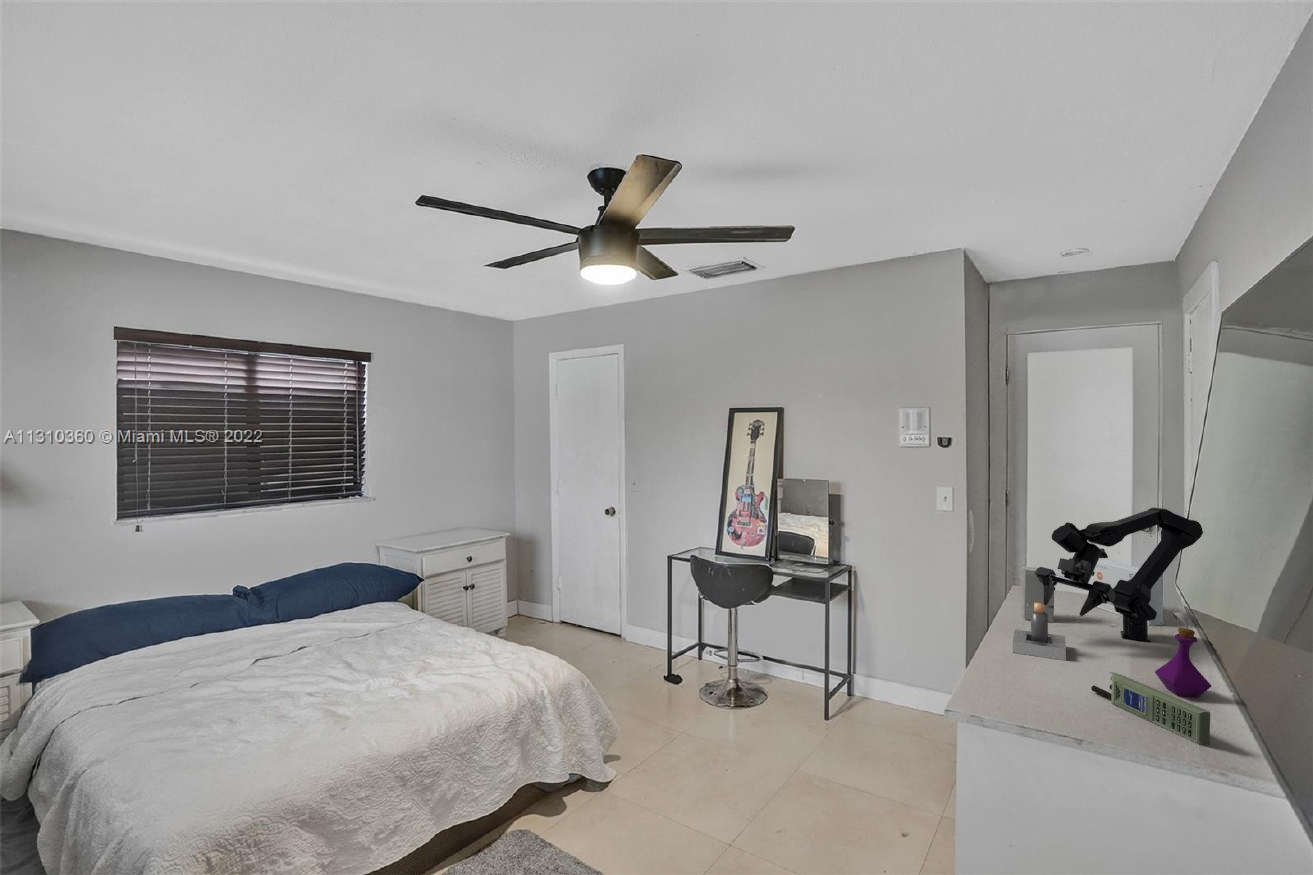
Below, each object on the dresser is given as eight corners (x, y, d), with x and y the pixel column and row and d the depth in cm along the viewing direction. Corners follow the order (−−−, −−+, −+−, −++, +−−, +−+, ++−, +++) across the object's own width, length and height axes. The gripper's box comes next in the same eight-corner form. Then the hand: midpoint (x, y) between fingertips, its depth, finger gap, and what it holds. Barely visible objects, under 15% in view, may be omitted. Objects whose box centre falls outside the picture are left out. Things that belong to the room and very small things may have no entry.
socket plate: (1015, 640, 182) (1015, 629, 182) (1065, 647, 175) (1065, 636, 175) (1012, 652, 172) (1012, 641, 172) (1065, 660, 165) (1065, 648, 165)
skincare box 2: (1093, 607, 214) (1092, 559, 214) (1108, 606, 214) (1107, 559, 214) (1148, 626, 193) (1147, 573, 193) (1164, 625, 194) (1164, 573, 193)
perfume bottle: (1212, 701, 140) (1211, 618, 140) (1173, 698, 141) (1172, 617, 141) (1191, 687, 147) (1190, 609, 147) (1154, 685, 149) (1153, 608, 149)
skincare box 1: (1024, 620, 200) (1023, 569, 200) (1020, 614, 207) (1020, 565, 207) (1055, 623, 197) (1055, 571, 197) (1051, 616, 204) (1050, 567, 204)
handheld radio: (1198, 747, 120) (1086, 694, 145) (1212, 746, 121) (1098, 693, 145) (1199, 712, 120) (1087, 664, 145) (1213, 711, 121) (1099, 664, 145)
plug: (1031, 646, 176) (1030, 601, 176) (1048, 648, 174) (1047, 603, 174) (1030, 650, 173) (1030, 604, 173) (1048, 653, 171) (1047, 606, 171)
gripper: (1039, 539, 184) (1017, 585, 180) (1113, 555, 169) (1091, 606, 164) (1052, 559, 190) (1031, 604, 185) (1124, 577, 174) (1103, 627, 170)
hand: (1062, 609), depth 176 cm, fingers open, 9 cm apart
